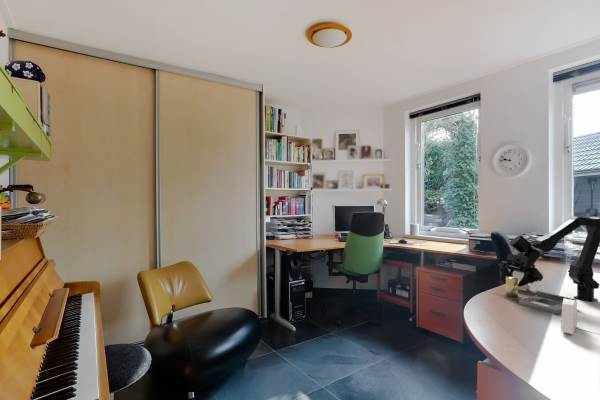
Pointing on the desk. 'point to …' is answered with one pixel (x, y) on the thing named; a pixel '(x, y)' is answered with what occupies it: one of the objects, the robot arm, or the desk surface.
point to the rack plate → (545, 298)
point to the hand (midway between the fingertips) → (509, 283)
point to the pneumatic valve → (520, 276)
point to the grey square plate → (512, 298)
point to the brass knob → (511, 287)
